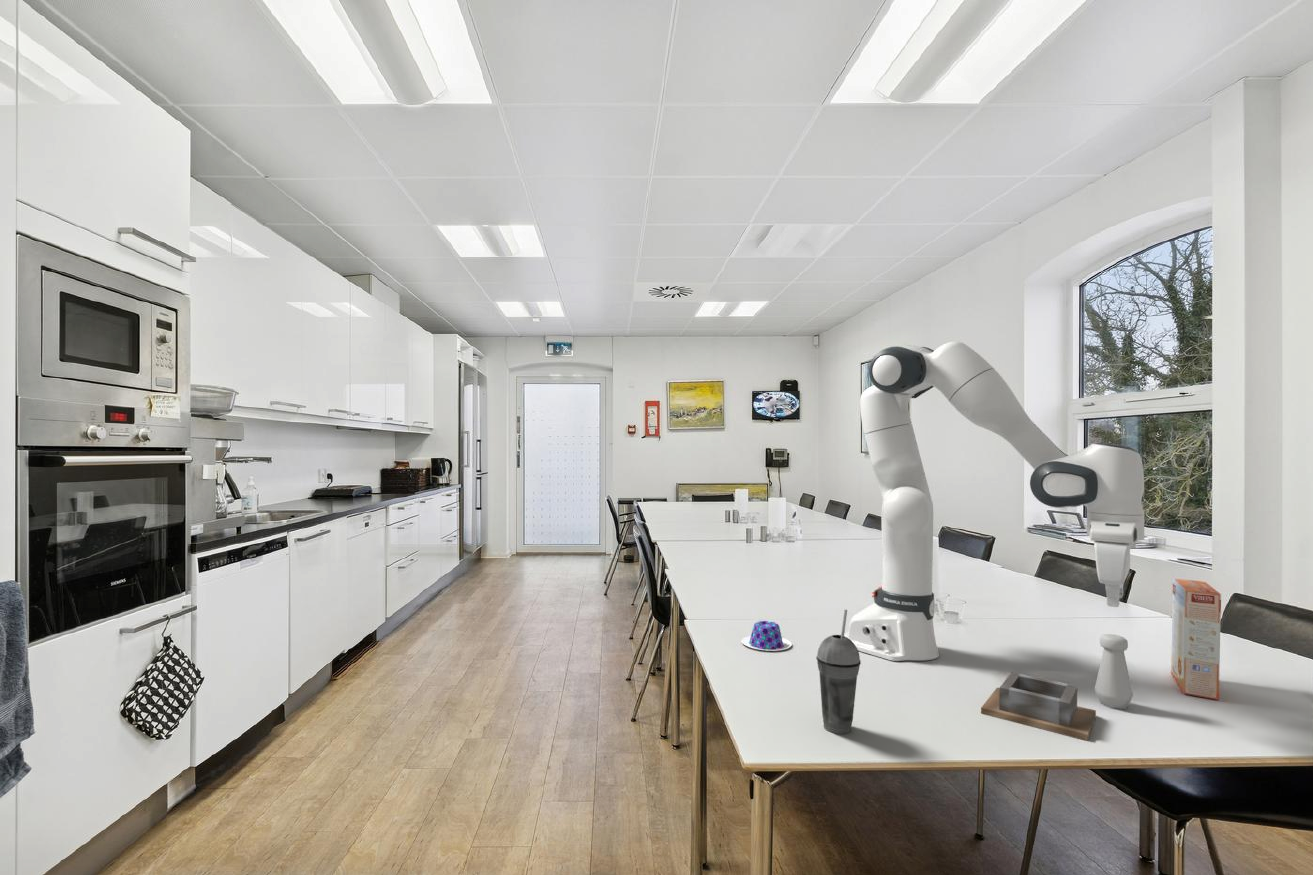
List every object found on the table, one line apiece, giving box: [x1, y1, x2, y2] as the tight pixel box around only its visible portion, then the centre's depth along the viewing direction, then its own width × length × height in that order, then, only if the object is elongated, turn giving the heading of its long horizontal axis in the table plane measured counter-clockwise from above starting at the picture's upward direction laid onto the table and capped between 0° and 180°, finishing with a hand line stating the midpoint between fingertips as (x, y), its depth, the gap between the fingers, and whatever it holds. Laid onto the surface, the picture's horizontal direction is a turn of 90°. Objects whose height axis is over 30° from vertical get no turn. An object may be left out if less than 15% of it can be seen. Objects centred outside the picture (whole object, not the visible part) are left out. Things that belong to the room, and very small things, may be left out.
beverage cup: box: [815, 609, 862, 735], centre depth 107 cm, size 7×7×20 cm
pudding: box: [740, 620, 793, 652], centre depth 152 cm, size 12×12×5 cm
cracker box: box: [1170, 578, 1222, 701], centre depth 129 cm, size 14×6×21 cm, turn 148°
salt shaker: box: [1094, 633, 1134, 710], centre depth 119 cm, size 6×6×13 cm
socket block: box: [980, 671, 1097, 742], centre depth 114 cm, size 16×13×5 cm
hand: (1115, 601), depth 119 cm, fingers open, 8 cm apart
